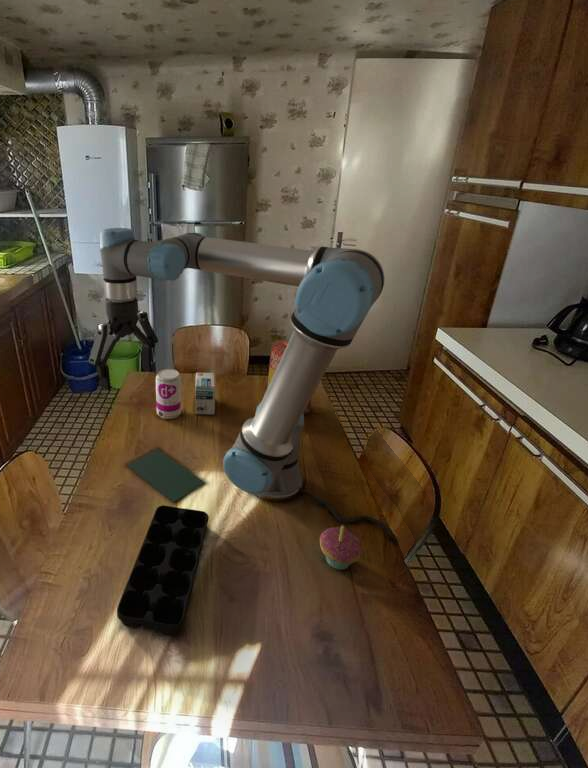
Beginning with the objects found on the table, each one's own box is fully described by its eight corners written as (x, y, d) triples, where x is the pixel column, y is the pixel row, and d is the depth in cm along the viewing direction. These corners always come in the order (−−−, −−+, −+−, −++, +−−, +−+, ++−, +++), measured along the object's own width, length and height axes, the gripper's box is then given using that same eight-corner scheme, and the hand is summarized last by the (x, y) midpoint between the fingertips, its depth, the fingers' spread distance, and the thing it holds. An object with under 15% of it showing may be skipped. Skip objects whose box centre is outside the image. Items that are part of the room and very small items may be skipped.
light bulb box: (214, 415, 146) (215, 386, 141) (194, 414, 146) (195, 386, 141) (214, 399, 156) (215, 372, 151) (195, 398, 156) (195, 371, 151)
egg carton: (115, 640, 77) (113, 627, 76) (134, 516, 104) (134, 504, 103) (213, 640, 78) (214, 627, 76) (207, 516, 105) (208, 504, 103)
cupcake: (351, 584, 88) (362, 541, 83) (311, 565, 92) (318, 523, 87) (362, 554, 95) (372, 513, 90) (323, 538, 99) (331, 497, 94)
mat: (204, 482, 115) (204, 482, 115) (173, 502, 109) (173, 502, 108) (157, 449, 128) (157, 448, 128) (126, 465, 122) (126, 464, 121)
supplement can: (178, 421, 142) (177, 380, 136) (153, 418, 144) (152, 377, 137) (183, 408, 149) (183, 369, 143) (160, 406, 151) (159, 367, 144)
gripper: (149, 284, 112) (152, 359, 121) (66, 306, 95) (77, 391, 104) (170, 290, 108) (172, 367, 117) (86, 313, 91) (96, 402, 100)
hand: (127, 379), depth 111 cm, fingers open, 13 cm apart
